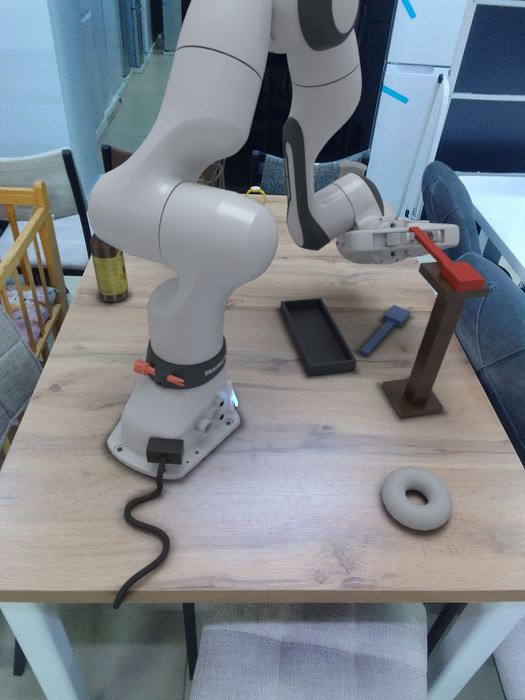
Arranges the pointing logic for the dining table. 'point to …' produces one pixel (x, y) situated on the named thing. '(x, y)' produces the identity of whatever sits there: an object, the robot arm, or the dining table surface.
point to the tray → (317, 337)
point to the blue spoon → (387, 326)
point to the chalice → (351, 168)
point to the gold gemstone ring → (257, 189)
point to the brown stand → (431, 346)
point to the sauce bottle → (109, 270)
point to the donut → (413, 513)
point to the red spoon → (450, 265)
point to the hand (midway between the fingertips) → (423, 237)
